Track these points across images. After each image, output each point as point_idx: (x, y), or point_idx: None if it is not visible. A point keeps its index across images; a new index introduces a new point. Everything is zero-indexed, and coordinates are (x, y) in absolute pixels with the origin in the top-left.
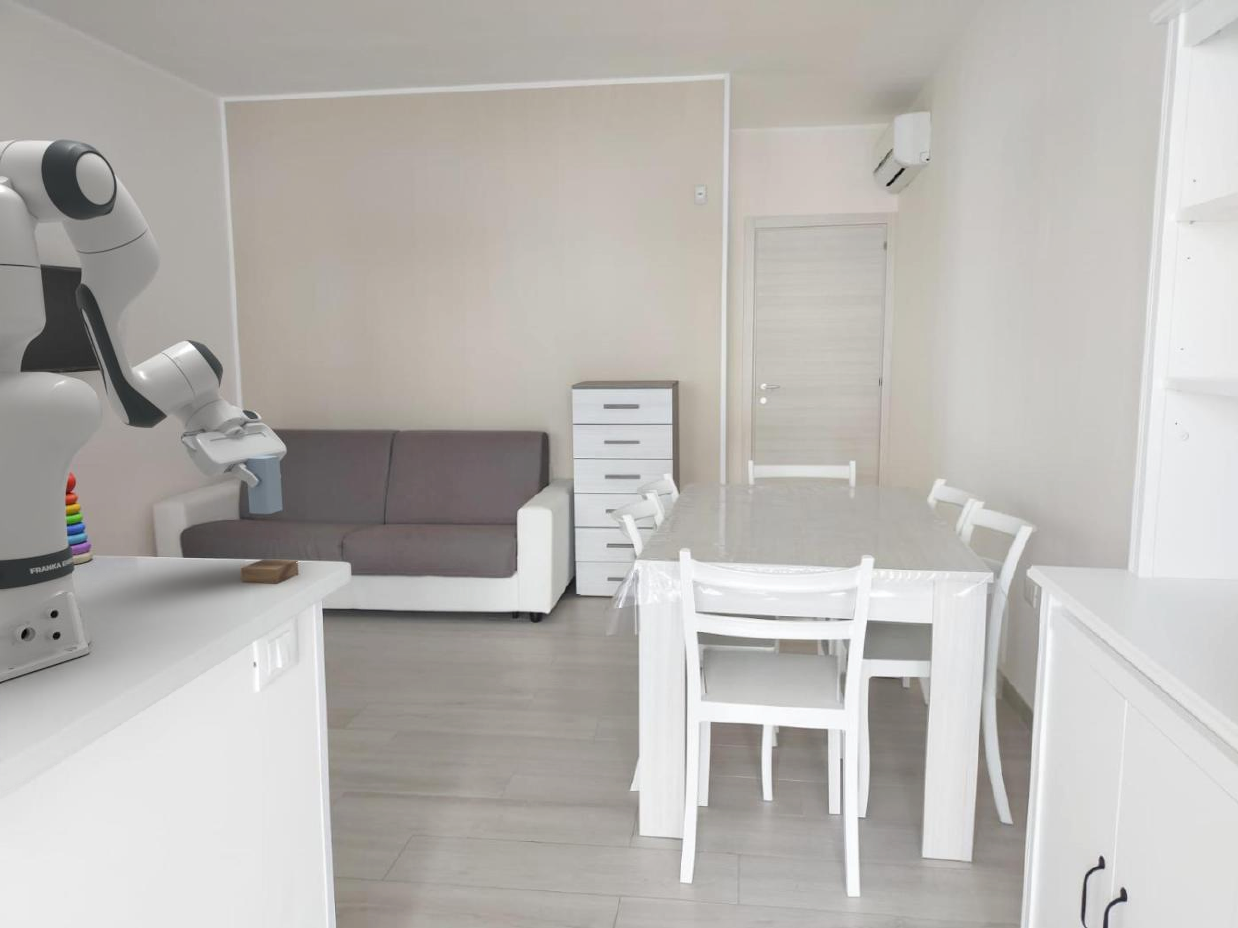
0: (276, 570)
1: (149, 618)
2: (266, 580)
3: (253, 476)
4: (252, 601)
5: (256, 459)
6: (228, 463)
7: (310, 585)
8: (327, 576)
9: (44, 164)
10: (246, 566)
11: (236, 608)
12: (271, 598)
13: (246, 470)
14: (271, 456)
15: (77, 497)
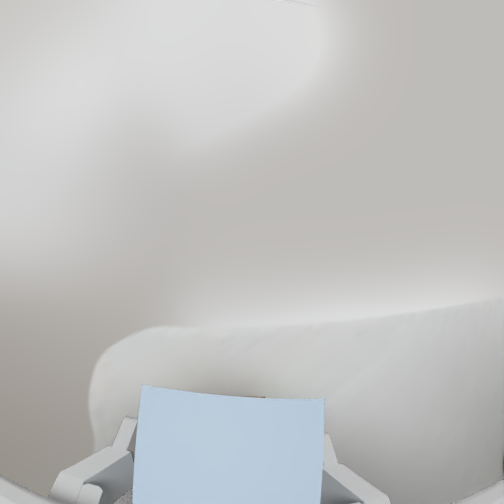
0: (263, 397)
1: (456, 443)
2: None
3: (330, 454)
4: (366, 369)
5: (321, 471)
6: (475, 493)
7: (259, 332)
8: (193, 333)
9: None
10: None
11: (400, 367)
12: (345, 351)
13: (358, 484)
14: (181, 430)
15: None
